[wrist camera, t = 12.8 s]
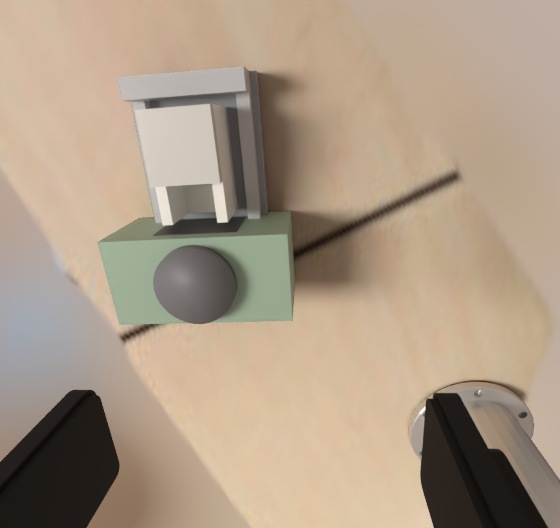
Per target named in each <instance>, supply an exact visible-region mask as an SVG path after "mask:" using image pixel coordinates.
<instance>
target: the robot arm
mask: <svg viewBox="0 0 560 528" xmlns="http://www.w3.org/2000/svg"><path fill="white" fill-rule="evenodd" d="M533 429H534V424H533V417H532V415H531V412H530V410H529V409H528V407H527V406H526V405H525V403H524V402H523V401H522V399H520V398H519V397H518V396H517V395H516V394H515V393H514V392H512V391H510V390H509V389H507V388H505V387H502V386H499V385H497V384H492V383H487V382H466V383H459V384H455V385H452V386H448V387H446V388H443V389H441V390H439V391H437V392H435V393H434V394H432V395H430V396H429V397H427V398H426V399H425V400H424V401H423V402H422V403H421V404H420V405H419V406H418V407H417V409H416V410H415V411H414V413H413V415H412V417H411V419H410V423H409V428H408V430H409V438H410V442H411V445H412V448H413V450H414V452H415V454H416V455H417V456H418V458H419V459H420V460H421V472H420V476H421V484H422V489H423V492H424V496H425V499H426V502H427V506H428V509H429V513H430V516H431V519H432V523H433V526H434V528H560V480H559V478H558V477H557V475H556V474H555V473H554V471H553V470H552V468H551V467H550V466H549V464H548V463H547V461H546V460H545V459H544V457H543V456H542V454H541V453H540V451H539V450H538V449H537V447H536V446H535V444H534V443H533V442H532V440H531V438H532V435H533ZM118 472H119V460H118V457H117V454H116V450H115V447H114V443H113V440H112V437H111V433H110V430H109V426H108V423H107V419H106V416H105V413H104V409H103V406H102V402H101V399H100V397H99V396H97V395H96V393H95V392H94V391H92V390H72V391H70V392H69V393H68V394H66V395H65V397H64V398H63V399H62V400H61V401H60V402H59V403H58V404H57V405H56V406H55V407H54V408H53V409H52V410H51V411H50V412H49V413H48V414H47V415H46V416H45V417H44V418H43V419H42V420H41V421H40V422H39V423H38V424H37V425H36V426H35V427H34V428H33V429H32V430H31V431H30V432H29V433H28V435H26V436H25V437H24V438H23V439H22V440H21V441H20V443H18V444H17V446H16V447H15V448H14V449H13V450H12V451H11V452H10V453H9V454H8V455H7V456H6V457H5V458H4V459H3V460H2V461H1V462H0V528H86V527H87V526H88V524H89V522H90V520H91V519H92V517H93V516H94V514H95V512H96V511H97V509H98V507H99V506H100V504H101V502H102V500H103V499H104V497H105V495H106V494H107V492H108V490H109V488H110V487H111V485H112V484H113V482H114V480H115V479H116V476H117V475H118Z"/></svg>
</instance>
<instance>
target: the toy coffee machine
mask: <svg viewBox="0 0 560 528" xmlns="http://www.w3.org/2000/svg"><path fill="white" fill-rule="evenodd" d="M117 80H118V85H119V89H120V94H121V99H122V101H131V105H132V110H133V115H134V120H135V125H136V130H137V135H138V140H139V145H140V150H141V155H142V160H143V165H144V170H145V175H146V180H147V185H148V190H149V195H150V200H151V205H152V210H153V215H154V217H153V218H138V219H137V220H135V221H133V222H131V223H130V224H128V225H126V226H125V227H123V228H121V229H119V230H118V231H116V232H114V233H113V234H111V235H109V236H107V237H106V238H104V239H102V240H101V241H99V242H98V246H99V250H100V254H101V257H102V261H103V265H104V268H105V272H106V276H107V280H108V283H109V287H110V291H111V295H112V298H113V302H114V306H115V309H116V313H117V317H118V321H119V324H120V325H122V324H167V323H193V324H205V323H212V322H258V321H292V320H293V305H294V290H295V274H294V256H293V238H292V219H291V211H276V212H269V211H268V198H267V185H266V173H265V160H264V147H263V135H262V122H261V109H260V96H259V84H258V72H257V71H248V70H247V69H246V68H245V67H244V66H242V67H230V68H218V69H206V70H194V71H182V72H171V73H159V74H147V75H135V76H123V77H117ZM203 104H213V105H219V106H225V107H227V115H228V124H229V132H230V141H231V150H232V159H233V167H234V176H235V185H236V194H237V202H238V210H237V211H236V212H235V214H234V215H233V216H232V217H231V219H230V220H229V221H228V222H223V223H217V217H216V212H206V213H188V214H186V215H185V216H184V217H183V218H181V219H180V220H179V221H177V222H176V223H175V224H174V225H164V226H163V224H162V219H161V214H160V209H159V204H158V199H157V194H156V189H155V187H150V183H149V178H148V173H147V169H146V164H145V159H144V154H143V149H142V144H141V139H140V134H139V129H138V124H137V119H136V114H135V110H141V109H153V108H166V107H178V106H191V105H203Z"/></svg>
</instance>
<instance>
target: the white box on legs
mask: <svg viewBox="0 0 560 528" xmlns="http://www.w3.org/2000/svg"><path fill="white" fill-rule="evenodd" d="M135 114H136V119H137V124H138V129H139V134H140V139H141V144H142V149H143V154H144V159H145V164H146V169H147V173H148V178H149V183H150V187H155V189H156V194H157V199H158V204H159V209H160V214H161V219H162V224H163V226H164V225H174V224H175V223H176V222H177V221H179V220H180V219H181V218H183V217H184V216H185V215H186V214H188V213H206V212H216V217H217V223H223V222H228V221H229V220H230V219H231V217H232V216H233V215H234V214H235V212H236V211H237V210H238V202H237V194H236V185H235V176H234V167H233V159H232V150H231V141H230V132H229V124H228V115H227V107H225V106H219V105H213V104H203V105H191V106H178V107H166V108H153V109H141V110H135Z"/></svg>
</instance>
